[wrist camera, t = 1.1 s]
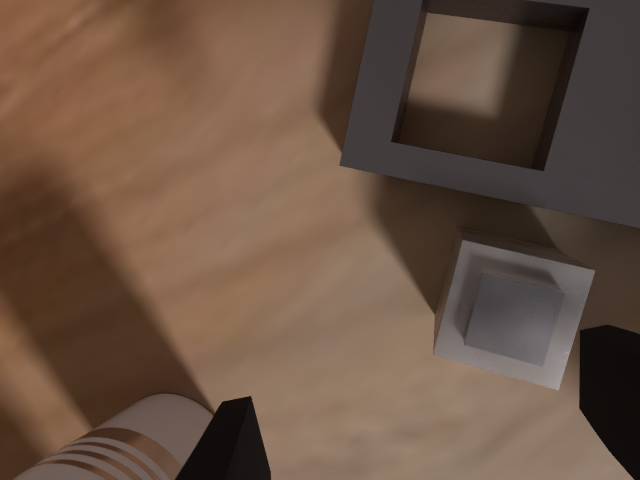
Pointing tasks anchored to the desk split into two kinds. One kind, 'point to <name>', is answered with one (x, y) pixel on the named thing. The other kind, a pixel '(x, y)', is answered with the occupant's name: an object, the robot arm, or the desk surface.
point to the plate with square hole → (561, 121)
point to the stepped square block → (510, 306)
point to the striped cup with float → (131, 444)
